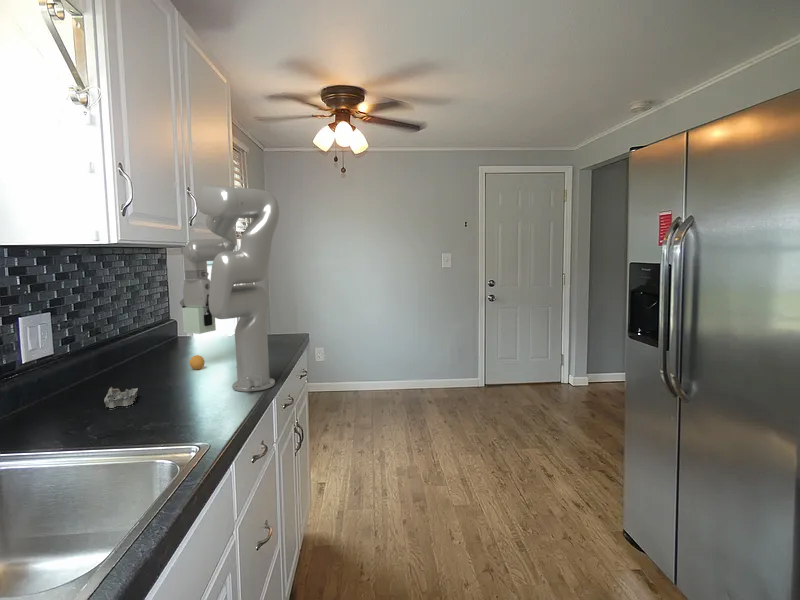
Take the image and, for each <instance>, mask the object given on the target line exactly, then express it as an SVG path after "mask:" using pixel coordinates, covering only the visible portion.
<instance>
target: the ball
mask: <svg viewBox="0 0 800 600" xmlns="http://www.w3.org/2000/svg"><path fill="white" fill-rule="evenodd" d="M188 362H189V366H190V367H191V369H193V370H200V369H202V368H203V367H204V365H205V364H206V363H205V358H204V357H203V356H201V355H199V354H198V355H193V356H192V357H191V358H190V360H189V361H188Z"/></svg>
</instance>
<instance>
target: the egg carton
mask: <svg viewBox="0 0 800 600" xmlns="http://www.w3.org/2000/svg"><path fill="white" fill-rule="evenodd" d="M138 388H139V387H137V388H131V389H128V388H125V390H124V391H122V392H121V390H120V388H113V387H112V386H111V387H109V389H108V391H107V394H106V396H105V397H104V402H103V403H104V404H105V408H106V407H109V408H114V407H116V406H128V405H131V404H133V403H134V402H133V401H135V402H136V399H137V398H136V397H138V395H137V392H138ZM114 398H115V399H114ZM135 398H136V399H135ZM114 409H115V408H114Z"/></svg>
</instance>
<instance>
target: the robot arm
mask: <svg viewBox="0 0 800 600" xmlns="http://www.w3.org/2000/svg"><path fill="white" fill-rule="evenodd" d="M196 194H197V195H196V207H197V209H198V211H199V212H201V213H202V214H203V215H206V218H205V225H206V227H207V229H208V230H209V231H210V232H211V233H212V234H214V235H216V236H218V237H221V238H204V239H203V238H202V239H201V238H199V239H192V240H191V241H190V240H189V241H190V243H189V244H188V245H187V246H185V247H183V246H182V257H183V258H182V260H183V271H184V280H183V287H182V288H183V291H182V293H183V294H182V295H183V296H182V297H183V298H182V299H181V300H180V301H179V305H180V306H181V309H182V308H185V307H193V308H204V313H205V315H204V325H205V326H209V325H212V316H213V317H215V319H218V320H228V319H237V318H239V319H238V321H237V323H236V326H235V330H234V342H235V344H234V345H235V357H236V375H237V381H235V382H233V383H232V389H233V390H235V391H237V392H259V391H263V390H268V389H270V388H272V387H274V386H275V385H276V380H275V379H274V378H272V377H270V363H269V362H270V361H269V360H270V359H269V347H268V346H269V343H268V342H269V341H268V311H269V303H270V301H269V299H270V297H269V293H268V290H267V289H266V288H265V287H264V286H262V285H260V284H254V283H261V282H262V281H263V280H265V279H266V278H267V275H268V271H269V264H270V258H271V251H272V242H273V237H274V234H275V232H276V229H277V226H278V223H279V218H280V205H279V203H278V200H277V198H276V196H275V195H274V194H273V193H271V192H269V191H266V190H263V189H260V188H259V189H258V188H256V189H255V188H248V187H247V188H245V187H244V188H242V187H233V186H225V185H223V186H222V185H210V184H209V185H208V184H207V185H204V186H203V187H201V188H200V189H199V191H198V192H197V193H196ZM239 219H252V221H251V222H250V223H249V224H248V226H247V227H246V228H245V229H244V231H243V233H242V235H241V240H240V247H239V249H238V250H235V249H236V246H237V234H236V231H235V228H234V227H235V225H236V224H237V222H238V220H239ZM207 262H212V265H211V272H210V279H209V278H208V277H209V271H208V263H207ZM206 308H208V310H207V309H206Z"/></svg>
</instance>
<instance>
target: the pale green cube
mask: <svg viewBox="0 0 800 600" xmlns="http://www.w3.org/2000/svg"><path fill="white" fill-rule="evenodd" d="M206 309H207V310H208V308H206ZM181 313H182V325H183V333H184V334H195V335H196V334H197V335H200V334H205V333H209V332H210V333H211V332H213V331H217V330H216V329H217V327H216V318H215V317H213V316H212V325H209V326H205V325H204V315H205V313H204V308H193V307H185V308H182V307H181Z"/></svg>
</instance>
